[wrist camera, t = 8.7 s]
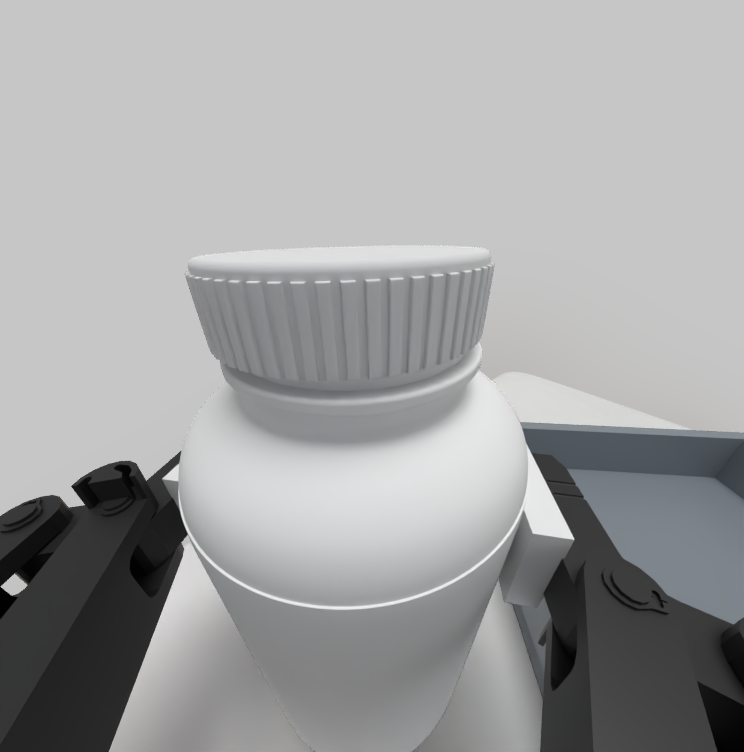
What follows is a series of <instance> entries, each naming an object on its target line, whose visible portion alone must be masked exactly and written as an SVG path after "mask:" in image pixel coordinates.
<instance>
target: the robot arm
mask: <svg viewBox="0 0 744 752" xmlns="http://www.w3.org/2000/svg"><path fill="white" fill-rule="evenodd" d="M493 383H494V384H495V385H496V386H497V384H496V382H493ZM497 387H498V386H497ZM526 446H527V444H526ZM527 454H528V465H529V488H528V494H527V499H526V503H525V507H524V511H523V514H522V517H521V520H520V523H519V526H518V529H517V531H516V534H515V537H514V539H513V542H512V544H511V547H510V549H509V552H508V554H507V557H506V560H505V562H504V565H503V567H502V570H501V572H500V575H499V581H500V586H501V590H502V595H503V599H504V602H507V603H512V604H518V605H523V606H528V607H533V608H538V606H539V604H540V603H541V601H542V599H543V597H545V600H546V603H547V606H548V609H549V612H550V615H551V618H550V619H549V621H548V622H547V624H546V626H545V627H544V629H543V631H542V632H541V634H540V637H539V640H538V644H540V645H541V646H544V644H545V643H546V650H545V670H544V689H543V708H542V727H541V747H540V752H744V618H742V619H740V620H739V621H738V622H736V623H735V624H731V623H729V622H727V621H724V620H722V619H720V618H717V617H715V616H713V615H710V614H708V613H706V612H703V611H701V610H699V609H696V608H694V607H692V606H689V605H687V604H685V603H682V602H680V601H678V600H676V599H674V598H672V597H670V596H668V595H667V594H666V593H665V592H664V591H663V589H662V588H661V587H660V586H659V585H658V584H657V582H656V581H655V580H654V579H652V578H651V577H650V576H649V575H648V574H646V573H645V572H644V571H643V570H641V569H640V568H639V567H637V566H636V565H634V564H632V563H630V562H628V561H627V560H625V559H623V557H622V556H621V555H620V553H619V552H618V550H617V549H616V547H615V545H614V544H613V542H612V541H611V539H610V537H609V536H608V534H607V533H606V531H605V529H604V528H603V526H602V525H601V523H600V521H599V520H598V518H597V517H596V515H595V513H594V512H593V510H592V509H591V507H590V505H589V504H588V502H587V501H586V500H585V499H584V496H583V494H582V493H581V491H580V489H579V488H578V486H576V483H575V481H574V480H573V478H572V477H571V475H570V473H569V472H568V470H567V468H565V467H564V466H563V465H562V464H561V463H560V462H559V461H558V460H556V459H555V458H554V457H553V456H552V455H547V454H537V453H531V452H530V450H529V448H528V446H527ZM180 456H181V451H180V452H179V453H178V454H177V455H176V456H175V457H173V458H172V459H171V460H170V461H169V462H168V463H167V464H166V465H164V466H163V467H162V468H161V469H160V470H158V471H157V472H156V473H155V474H154V475H153V476H152V477H150V478H149V479H148V480H147V481H146V480H145V478H144V476H143V475H142V473H141V471H140V469H139V468H138V466H137V464H136V463H134V462H131V461H119V462H115V463H111V464H107V465H105V466H103V467H100V468H98V469H95V470H93V471H92V472H90V473H88V474H87V475H85V476H83V477H82V478H80V479H79V480H78V481H77V482H76V483H74V484H73V485H72V486H71V487H72V488H73V489H74V491H75V492H76V493H77V495H78V496H79V497H80V499H81V500H82V501H83V502H84V504H85V505H84V506H77V507H70V508H68V506H67V505H66V504H65V503H64V502H63V500H62V499H61V498H60V497H58V496H54V495H50V496H43V497H39V498H36V499H33V500H30V501H27V502H24V503H22V504H21V505H19V506H17V507H15V508H13V509H11V510H9V511H8V512H6V513H4V514H3V515H1V516H0V586H1V585H3V584H4V583H5V582H6V581H7V580H8V579H9V578H10V577H11V576H12V575H13V574H14V573H15V574H16V575H17V576H18V577H19V578H20V579H22V580H23V581H24V582H25V583H26V584H27V585H28V586H27V587H26V588H25V589H24V590H23V591H21V592H20V593H19V594H16V595H13V596H11V595H10V594H9V593H7V592H6V591H5V590H4V589H2V588H1V587H0V752H109V749H110V747H111V744H112V742H113V739H114V736H115V734H116V731H117V728H118V726H119V723H120V720H121V718H122V715H123V713H124V710H125V707H126V705H127V702H128V699H129V697H130V694H131V691H132V689H133V686H134V684H135V681H136V678H137V676H138V673H139V670H140V668H141V665H142V662H143V660H144V657H145V654H146V652H147V649H148V647H149V644H150V641H151V639H152V636H153V633H154V631H155V628H156V625H157V623H158V620H159V618H160V615H161V612H162V610H163V607H164V604H165V602H166V599H167V596H168V594H169V591H170V588H171V586H172V583H173V581H174V578H175V575H176V573H177V570H178V567H179V565H180V562H181V559H182V557H183V551H184V548H183V545H182V543H181V542H182V541H183V540H184V538H185V537H186V536H187V535H188V534H187V531H186V528H185V526H184V523H183V520H182V516H181V512H180V507H179V498H178V488H179V484H178V473H179V462H180Z"/></svg>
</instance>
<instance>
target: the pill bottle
mask: <svg viewBox="0 0 744 752" xmlns="http://www.w3.org/2000/svg"><path fill="white" fill-rule="evenodd" d="M494 265H495V264H494V262H493V261H491V254H490V252H489V251H488V250H487V249H484V248H478V247H464V246H355V247H354V246H352V247H319V248H294V249H274V250H259V251H258V250H257V251H243V252H230V253H219V254H210V255H203V256H197V257H194V258H192V259H191V260H190V261H189V263H188V269H189V271H187V272H186V273H185V276H186V279H187V283H188V286H189V289H190V292H191V295H192V298H193V301H194V304H195V307H196V310H197V313H198V316H199V319H200V322H201V325H202V328H203V331H204V334H205V337H206V340H207V343H208V346H209V348H210V351H211V353H212V354H213V355H214V357H216V359H219V360H220V363H221V369H222V372H223V375H224V377H225V379H226V382H224V384H222V385H221V386H220V387H219V388H218V389H217V390H216V391H215V392H214V393H213V394H212V395H211V396H210V397H209V398H208V399H207V401H206V402H205V403H204V404H203V406H202V407H201V409H200V410H199V411H198V413H197V414H196V416H195V418H194V419H193V421H192V423H191V425H190V427H189V430H188V432H187V434H186V437H185V440H184V443H183V447H182V451H181V456H180V462H179V473H178V484H179V488H178V498H179V507H180V512H181V516H182V520H183V523H184V526H185V528H186V531H187V534H188V536H189V538H190V541H191V543H192V545H193V547H194V549H195V551H196V553H197V555H198V557H199V559H200V561H201V562H202V564H203V566H204V568H205V570H206V572H207V573H208V575H209V577H210V579H211V581H212V583H213V584H214V586H215V588H216V590H217V592H218V594H219V595H220V597H221V599H222V601H223V603H224V605H225V606H226V608H227V610H228V612H229V614H230V615H231V617H232V619H233V621H234V623H235V625H236V626H237V628H238V630H239V632H240V634H241V636H242V637H243V639H244V641H245V643H246V645H247V647H248V648H249V650H250V652H251V654H252V656H253V657H254V659H255V661H256V663H257V665H258V667H259V668H260V670H261V672H262V674H263V676H264V678H265V679H266V681H267V683H268V685H269V687H270V689H271V690H272V692H273V694H274V696H275V698H276V699H277V701H278V703H279V705H280V707H281V709H282V710H283V712H284V714H285V716H286V718H287V719H288V721H289V723H290V724H291V726H292V727H293V729H294V730H295V732H296V733H297V734H298V735H299V737H300V738H301V739H302V740H303V741H304V742H305V743H306V744H307V745H308V746H309V747H310V748H311V749H313V750H314V751H315V752H412V751H413V750H414V749H416V748H417V747H418V746H419V745H420V744H421V743H422V742H423V741H424V740H425V739H426V738H427V737H428V736H429V735H430V734H431V732H432V731H433V730H434V728H435V727H436V726H437V724H438V723H439V721H440V719H441V718H442V716H443V714H444V712H445V711H446V709H447V706H448V704H449V702H450V700H451V697H452V695H453V692H454V690H455V687H456V684H457V682H458V679H459V677H460V674H461V672H462V669H463V667H464V664H465V661H466V659H467V656H468V654H469V651H470V649H471V646H472V644H473V641H474V639H475V636H476V633H477V631H478V628H479V626H480V623H481V621H482V618H483V616H484V613H485V610H486V608H487V605H488V603H489V600H490V598H491V595H492V593H493V590H494V588H495V585H496V582H497V580H498V577H499V575H500V572H501V570H502V567H503V565H504V562H505V560H506V557H507V554H508V552H509V549H510V547H511V544H512V542H513V539H514V537H515V534H516V531H517V529H518V526H519V523H520V520H521V517H522V514H523V511H524V507H525V503H526V499H527V494H528V488H529V465H528V454H527V446H526V441H525V437H524V433H523V430H522V427H521V424H520V421H519V419H518V416H517V414H516V412H515V410H514V409H513V407H512V405H511V404H510V402H509V401H508V399H507V398H506V396H505V395H504V394H503V393H502V391H501V390H500V389H499V388H498V387H497V386H496V385H495V384H494V383H493V382H492V381H491V380H490V379H489V378H488V377H487V376H485V375H484V374H483V373H482V372H480V371H479V368H480V365H481V360H482V347H481V345H480V343H479V340H480V339H481V336H482V332H483V327H484V322H485V317H486V311H487V306H488V299H489V294H490V288H491V283H492V277H493V271H494Z"/></svg>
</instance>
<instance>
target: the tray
mask: <svg viewBox="0 0 744 752" xmlns="http://www.w3.org/2000/svg"><path fill="white" fill-rule="evenodd" d="M520 424H521V427H522V430H523V433H524V437H525V441H526V444H527V446H528V448H529V450H530V452H531V453H537V454H547V455H552V456H553V457H554V458H555V459H556V460H558V461H559V462H560V463H561V464H562V465H563V466H564V467H565V468H567V470H568V472H569V473H570V475H571V477H572V478H573V480H574V481H575V483H576V486H578V488H579V489H580V491H581V493H582V494H583V496H584V499H585V500H586V501H587V502H588V504H589V505H590V507H591V509H592V510H593V512H594V513H595V515H596V517H597V518H598V520H599V521H600V523H601V525H602V526H603V528H604V529H605V531H606V533H607V534H608V536H609V537H610V539H611V541H612V542H613V544H614V545H615V547H616V549H617V550H618V552H619V553H620V555H621V556H622V557H623V559H625V560H627V561H628V562H630V563H632V564H634V565H636V566H637V567H639V568H640V569H641V570H643V571H644V572H645V573H646V574H648V575H649V576H650V577H651V578H652V579H654V580H655V581H656V582H657V584H658V585H659V586H660V587H661V588H662V589H663V591H664V592H665V593H666V594H667V595H668V596H670V597H672V598H674V599H676V600H678V601H680V602H682V603H685V604H687V605H689V606H692V607H694V608H696V609H699V610H701V611H703V612H706V613H708V614H710V615H713V616H715V617H717V618H720V619H722V620H724V621H727V622H729V623H731V624H735V623H736V622H738V621H739V620H740V619H742V618H744V433H739V432H716V431H696V430H675V429H654V428H632V427H611V426H590V425H569V424H548V423H526V422H520ZM513 606H514V609H515V612H516V615H517V618H518V622H519V625H520V628H521V631H522V634H523V637H524V640H525V644H526V647H527V650H528V653H529V656H530V659H531V662H532V666H533V669H534V672H535V675H536V678H537V681H538V685H539V688H540V691H541V694H542V697H543V689H544V670H545V650H546V643H545V644H544V646H541V645H540V644H538V640H539V637H540V634H541V632H542V631H543V629H544V627H545V626H546V624H547V622H548V621H549V619H550V618H551V615H550V612H549V609H548V606H547V603H546V600H545V597H543V599H542V601H541V603H540V604H539V606H538V608H533V607H528V606H523V605H518V604H513Z"/></svg>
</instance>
